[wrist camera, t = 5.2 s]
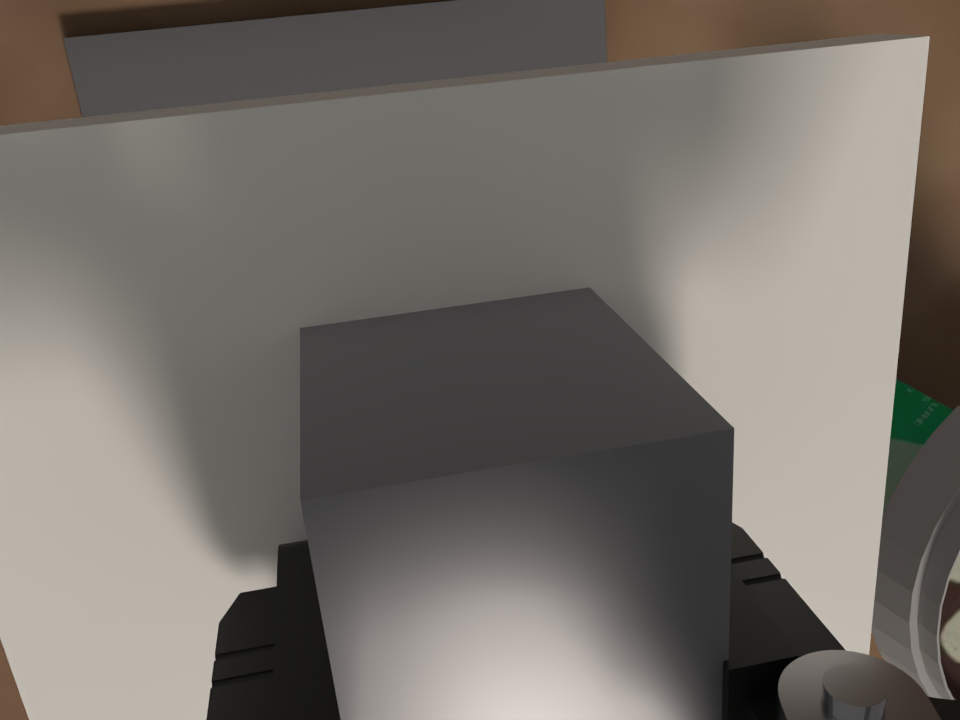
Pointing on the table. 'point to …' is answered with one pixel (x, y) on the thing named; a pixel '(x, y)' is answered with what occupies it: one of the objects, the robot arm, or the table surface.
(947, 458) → the food container
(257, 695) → the robot arm
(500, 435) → the lid
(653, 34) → the table surface
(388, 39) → the mat
